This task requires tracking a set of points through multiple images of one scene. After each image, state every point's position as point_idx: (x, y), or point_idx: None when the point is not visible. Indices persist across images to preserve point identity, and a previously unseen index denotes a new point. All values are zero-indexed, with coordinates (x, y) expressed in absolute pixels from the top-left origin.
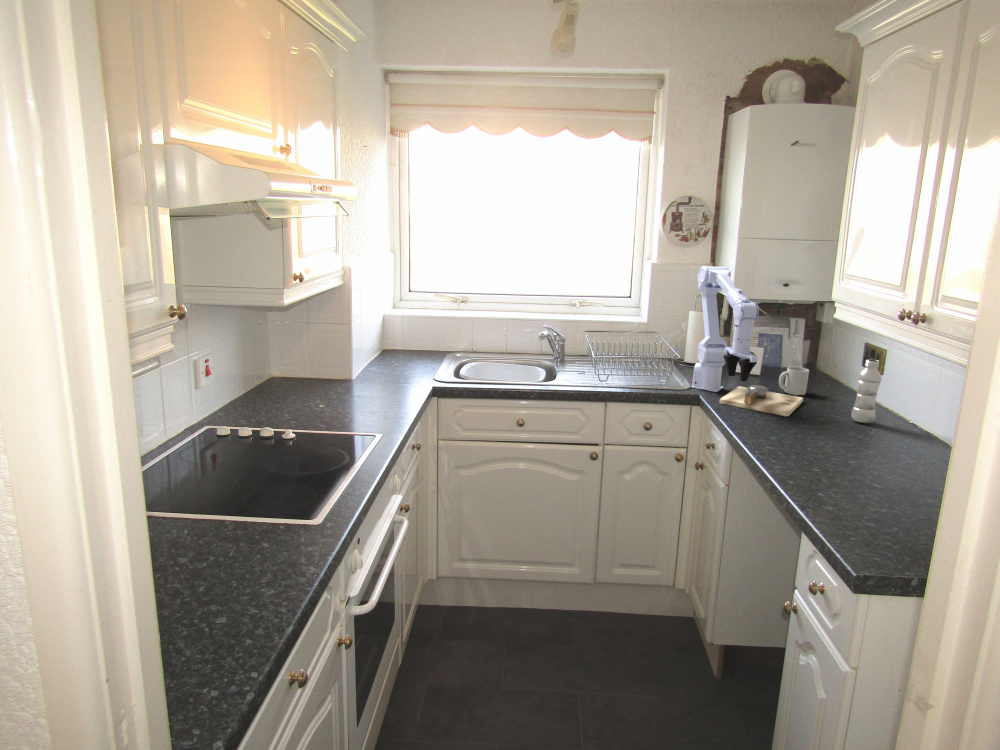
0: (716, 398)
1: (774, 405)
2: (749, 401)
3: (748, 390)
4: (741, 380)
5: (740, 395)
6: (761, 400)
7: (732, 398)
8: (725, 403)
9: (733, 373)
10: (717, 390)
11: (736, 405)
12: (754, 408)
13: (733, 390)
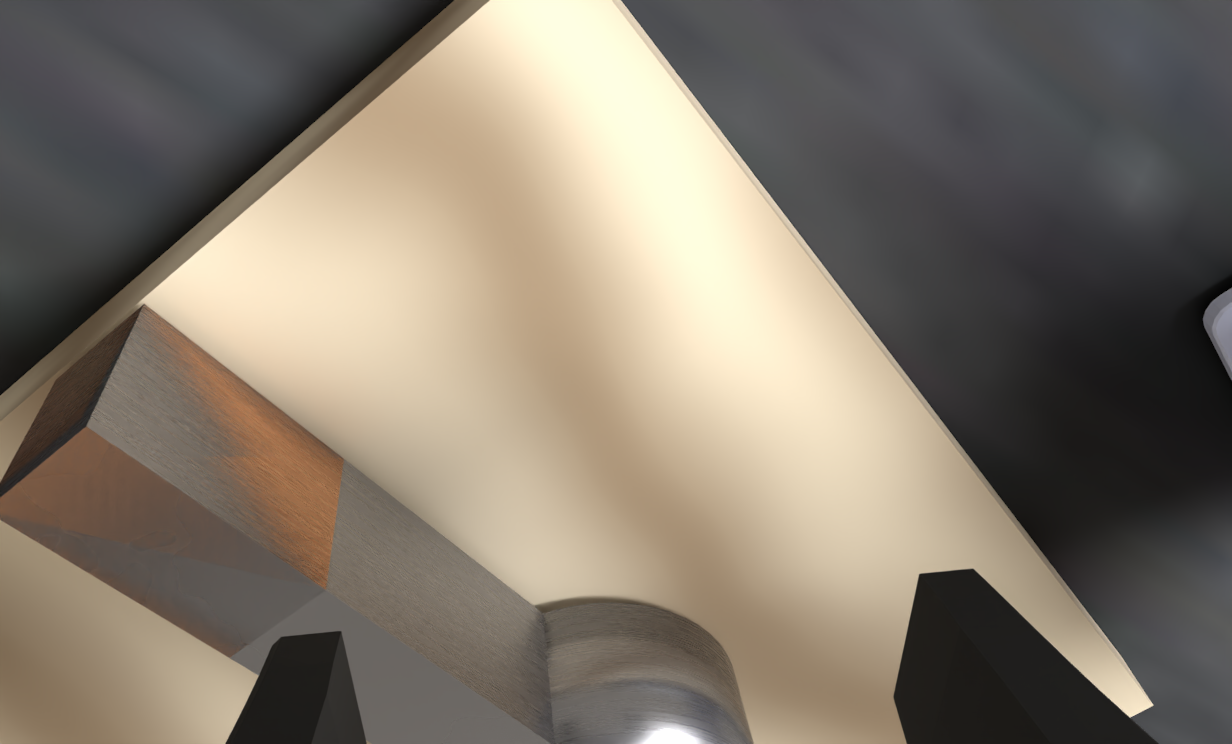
0: (897, 82)
1: (60, 710)
2: (56, 395)
3: (675, 676)
4: (278, 648)
5: (713, 507)
6: None
7: (553, 265)
8: (448, 14)
9: (927, 737)
10: (1224, 347)
11: (269, 169)
12: (21, 387)
13: (1009, 543)
